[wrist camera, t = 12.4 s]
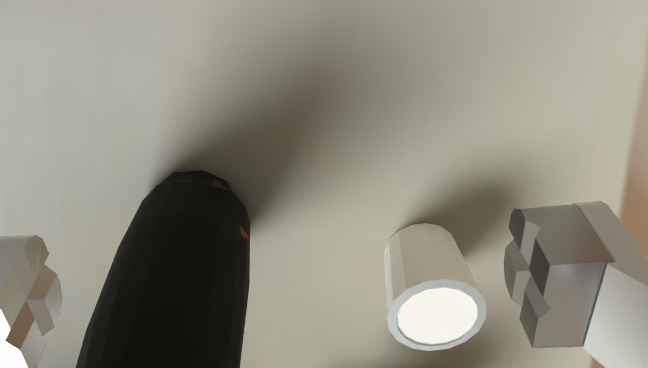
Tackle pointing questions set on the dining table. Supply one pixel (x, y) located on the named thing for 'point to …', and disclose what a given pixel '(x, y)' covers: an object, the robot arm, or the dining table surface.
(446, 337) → the white cylinder
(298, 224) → the dining table surface
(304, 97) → the dining table surface
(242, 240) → the portable speaker
